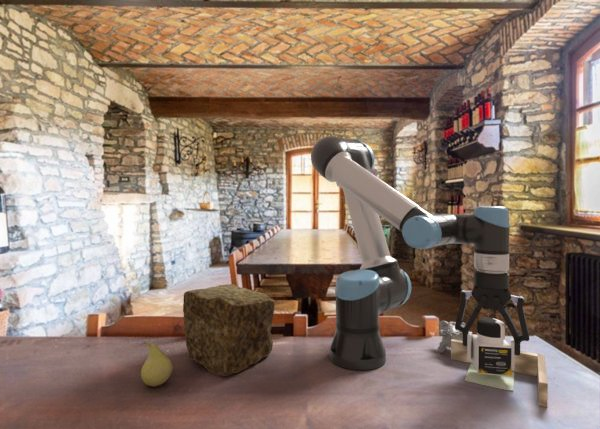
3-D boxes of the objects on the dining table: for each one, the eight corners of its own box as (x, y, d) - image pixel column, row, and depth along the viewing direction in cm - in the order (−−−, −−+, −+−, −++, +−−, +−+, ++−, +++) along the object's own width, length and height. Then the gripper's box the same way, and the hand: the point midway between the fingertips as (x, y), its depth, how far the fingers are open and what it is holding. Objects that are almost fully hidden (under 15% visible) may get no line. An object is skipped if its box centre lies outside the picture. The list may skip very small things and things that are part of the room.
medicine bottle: (478, 374, 88) (478, 323, 87) (471, 361, 95) (471, 314, 94) (511, 377, 86) (512, 325, 86) (501, 363, 93) (502, 316, 93)
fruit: (178, 380, 90) (177, 331, 90) (156, 395, 83) (155, 342, 83) (155, 376, 93) (154, 328, 92) (132, 391, 86) (131, 339, 85)
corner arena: (439, 382, 88) (439, 361, 88) (451, 357, 103) (451, 339, 102) (547, 407, 77) (547, 383, 77) (544, 375, 92) (544, 355, 91)
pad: (464, 380, 89) (464, 379, 89) (470, 364, 98) (470, 363, 98) (513, 391, 84) (513, 390, 84) (514, 373, 92) (514, 372, 92)
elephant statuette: (441, 358, 103) (442, 331, 102) (428, 339, 115) (429, 315, 114) (475, 359, 102) (476, 331, 102) (459, 340, 114) (460, 315, 114)
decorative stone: (226, 276, 116) (281, 283, 106) (226, 340, 116) (280, 354, 107) (172, 288, 97) (231, 299, 88) (172, 365, 98) (231, 384, 88)
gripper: (441, 269, 92) (441, 359, 93) (544, 277, 81) (543, 380, 82) (447, 264, 99) (446, 349, 99) (543, 271, 87) (542, 367, 88)
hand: (490, 363), depth 91 cm, fingers closed on medicine bottle, 9 cm apart
